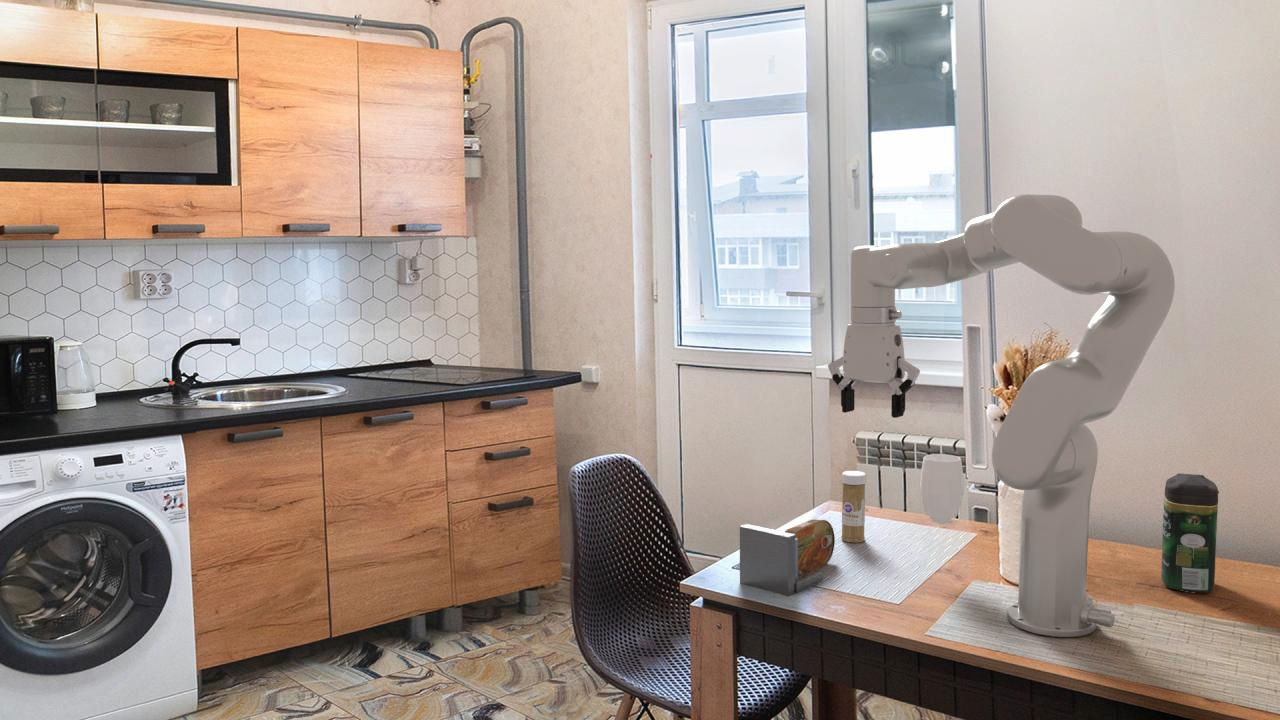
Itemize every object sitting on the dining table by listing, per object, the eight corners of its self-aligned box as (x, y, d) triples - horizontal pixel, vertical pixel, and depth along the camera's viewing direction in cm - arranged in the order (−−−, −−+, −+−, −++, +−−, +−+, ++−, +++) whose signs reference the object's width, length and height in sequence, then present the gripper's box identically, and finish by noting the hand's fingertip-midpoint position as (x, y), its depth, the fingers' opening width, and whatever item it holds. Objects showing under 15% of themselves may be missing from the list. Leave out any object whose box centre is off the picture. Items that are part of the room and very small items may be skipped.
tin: (789, 582, 175) (789, 534, 174) (774, 578, 177) (774, 531, 176) (836, 561, 186) (836, 516, 185) (821, 557, 188) (821, 513, 187)
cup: (961, 582, 173) (963, 463, 171) (917, 578, 176) (919, 461, 173) (962, 569, 180) (964, 454, 178) (919, 566, 182) (921, 452, 180)
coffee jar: (1158, 573, 176) (1163, 468, 174) (1211, 579, 173) (1216, 472, 171) (1161, 591, 168) (1166, 481, 165) (1216, 597, 164) (1222, 485, 162)
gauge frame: (822, 580, 175) (823, 524, 174) (789, 596, 168) (790, 537, 167) (772, 568, 182) (772, 513, 181) (738, 582, 175) (738, 525, 174)
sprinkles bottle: (838, 541, 197) (839, 474, 196) (845, 535, 201) (845, 469, 200) (861, 544, 195) (862, 476, 194) (868, 538, 199) (868, 471, 198)
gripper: (929, 316, 174) (928, 415, 176) (840, 314, 185) (840, 407, 187) (908, 319, 168) (907, 421, 170) (818, 316, 180) (818, 412, 182)
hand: (872, 414), depth 179 cm, fingers open, 9 cm apart
